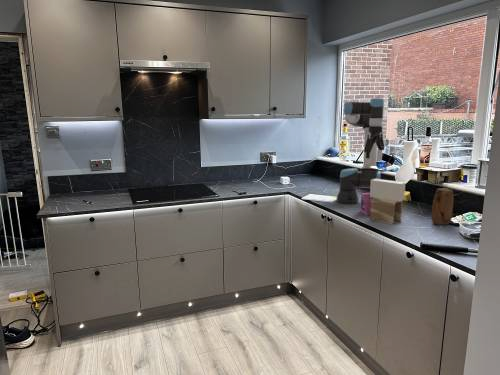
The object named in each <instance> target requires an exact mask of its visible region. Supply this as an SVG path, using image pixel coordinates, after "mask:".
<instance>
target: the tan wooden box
mask: <svg viewBox="0 0 500 375" xmlns="http://www.w3.org/2000/svg"><path fill="white" fill-rule="evenodd" d="M403 202H404V200H402V201H394V200H388V199H382V198H376V197H372V198H371V213H370V215H369V219H370V220H371V219H373V220H372V221H376V220H378V221H377V222H380V221H382V222H381V223H385V222H386V223H385V224H389V223H390V225H394V222H395V221H398V222H402V214H403Z"/></svg>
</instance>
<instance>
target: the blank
mask: <svg viewBox="0 0 500 375" xmlns="http://www.w3.org/2000/svg"><path fill="white" fill-rule="evenodd" d="M369 191H370V197H376V198H382V199H388V200H394V201H402V200H403V201H405V194H406V193H405V192H406V182H404V181H396V180H390V179H382V178H380V179H373V180H371V185H370V188H369Z"/></svg>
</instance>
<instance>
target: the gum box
mask: <svg viewBox="0 0 500 375" xmlns="http://www.w3.org/2000/svg"><path fill="white" fill-rule="evenodd" d="M371 198H372V197H370V190H361V196H360V211H359V212H360V213H362V214H364V215H365V216H367V215H368V216H370V213H371Z"/></svg>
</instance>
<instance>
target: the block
mask: <svg viewBox="0 0 500 375" xmlns="http://www.w3.org/2000/svg"><path fill="white" fill-rule="evenodd" d="M431 206H432V207H431V221H432V223H433V224H434V225H438V226H441V225H442V226H443V225H448V224H450V223H451V222H452V217H453V209H454V190H453V189H450V188H446V187H442V188H437V189H436V190H435V195H434V197H433V200H432V205H431Z"/></svg>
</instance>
